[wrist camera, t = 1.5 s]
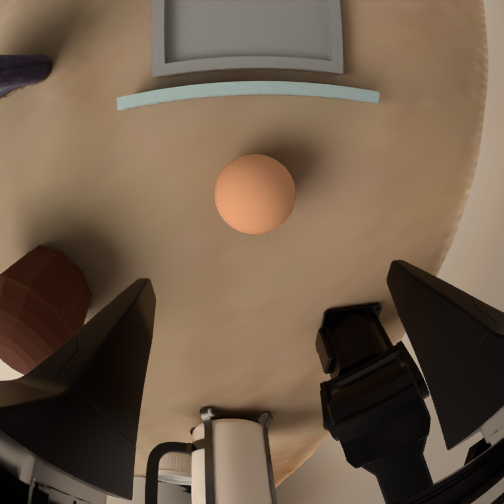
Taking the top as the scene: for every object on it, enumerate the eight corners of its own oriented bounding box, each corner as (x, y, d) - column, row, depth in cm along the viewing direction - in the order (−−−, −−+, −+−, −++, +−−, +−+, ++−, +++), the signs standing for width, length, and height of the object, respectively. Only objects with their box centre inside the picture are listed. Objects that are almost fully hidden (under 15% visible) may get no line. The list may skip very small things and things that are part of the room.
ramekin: (141, 449, 48) (139, 474, 42) (182, 446, 46) (182, 474, 40) (176, 463, 55) (176, 485, 49) (217, 460, 52) (218, 484, 46)
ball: (287, 147, 18) (306, 163, 14) (286, 213, 20) (301, 246, 16) (213, 150, 18) (209, 166, 13) (218, 216, 20) (216, 252, 16)
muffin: (82, 228, 19) (19, 308, 11) (119, 324, 25) (94, 407, 17) (0, 241, 19) (-54, 301, 10) (40, 321, 25) (8, 385, 16)
